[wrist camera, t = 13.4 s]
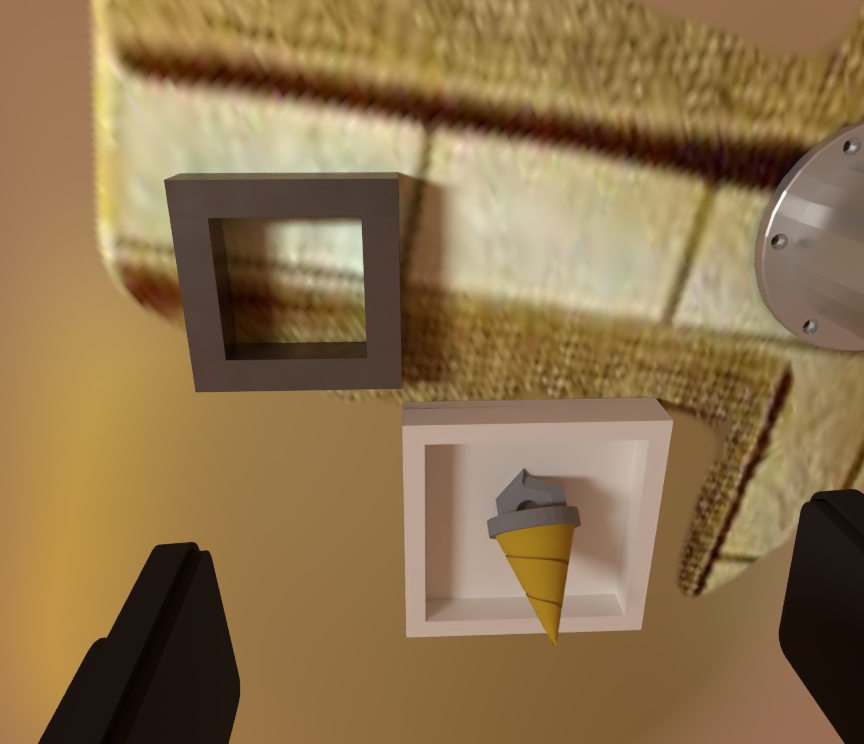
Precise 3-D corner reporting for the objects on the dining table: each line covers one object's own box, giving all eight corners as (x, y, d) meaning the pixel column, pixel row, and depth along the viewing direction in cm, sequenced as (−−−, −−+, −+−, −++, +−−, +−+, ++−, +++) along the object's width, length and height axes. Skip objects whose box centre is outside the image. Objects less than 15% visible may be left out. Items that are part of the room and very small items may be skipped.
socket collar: (397, 172, 35) (397, 178, 32) (401, 370, 39) (401, 388, 37) (180, 173, 34) (164, 179, 32) (207, 373, 39) (195, 392, 36)
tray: (654, 397, 40) (673, 420, 38) (626, 597, 46) (641, 629, 43) (402, 402, 40) (402, 425, 37) (406, 603, 46) (406, 637, 43)
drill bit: (583, 461, 41) (619, 636, 38) (509, 481, 44) (536, 644, 41) (540, 452, 37) (576, 647, 34) (462, 474, 40) (487, 655, 37)
